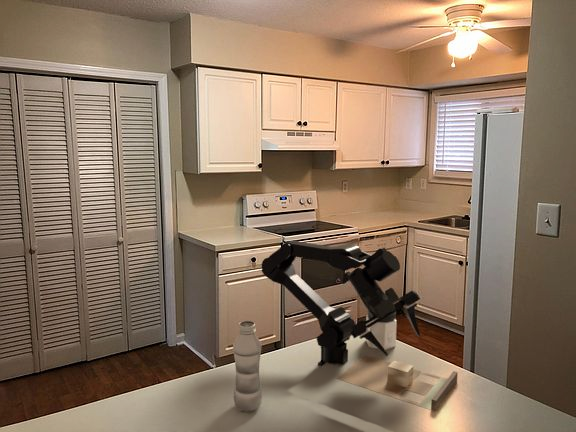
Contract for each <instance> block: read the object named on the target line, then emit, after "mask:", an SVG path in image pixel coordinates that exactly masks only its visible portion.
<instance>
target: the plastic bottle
mask: <svg viewBox="0 0 576 432" xmlns="http://www.w3.org/2000/svg"><path fill="white" fill-rule="evenodd" d="M256 332H257V331H256V322H254V321H252V320H243V321H240V322H239V323H238V333H239V334H238V335H237V337H236V338H235V340H234V341H233V345H232V351H233V356H234V361H235V362H234V364H235V366H234V367H235V384H234V391H233V402H234V405H235V407H236V408H237V409H238V410H239V411H241V412H245V413H247V412H248V413H250V412H254V411H256V410H257V409H259V408H260V407H261V405H262V401H263V393H262V387H261V381H260V380H261V378H260V360H261V352H262V343H261V340H260V339H259V337H258V336H257V335H256Z"/></svg>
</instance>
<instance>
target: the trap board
mask: <svg viewBox="0 0 576 432" xmlns="http://www.w3.org/2000/svg"><path fill="white" fill-rule="evenodd" d="M391 363H392V362H389V361H386V360H383V359H379V358H376V357H372V356H369V355H363V356H362V357H361V358H360V359H359V360H358V361H356V362H355V363H354V364H353V365H351V366H350V367H348V368H347V369H346V370H345V371H344V372H342V373H341V374H340V375H339V376H337V377H336V379H337V380H339V381H342V382H346V383H348V384H352V385H354V386H357V387H360V388H363V389H366V390H369V391H373V392H376V393H378V394H381V395H384V396H388V397H392V398H394V399H397V400H400V401H403V402H406V403H409V404H411V405H414V406H417V407H422V408H423V409H427V410H430V411H433V412H436V411H437V410H438V409H439V408H440V406H441V404H442V403H443V402H444V401H445V399H446V398H447V396H448V395H449V394H450V393H451V391H452V389H453V388H454V387H455V385H457V383H458V373H459V372H457V371H455V370H453V371H452V372H451V373H450V375H449V376H448V378H445V377H442V376H439V375H435V374H431V373H427V372H424V371H422V370H417V369H414V368H413V381H412V382H411V384H410V385H409V386H408V387H407V388H406V387H403V386H400V385H397V384H393V383H390V382H387V376H388V366H389V365H390V364H391ZM419 375H425V376H428V377H432V378H435V379H438V380H437V381H436V382H435V384H431V383H428V382H425V381H421V380H418V379H416V378H418V376H419ZM404 391H409V392H411V393H415V394H418V395H421V396H423V399H422V400H421V401H420V402H418V401H417V402H416V401H413V400H410V399H407V398H404V397H402V396H401V395H402V394H403V392H404ZM400 396H401V397H400Z"/></svg>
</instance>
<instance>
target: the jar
mask: <svg viewBox="0 0 576 432" xmlns="http://www.w3.org/2000/svg"><path fill="white" fill-rule="evenodd" d="M366 310H367V309H366ZM366 312H367V315H366V317H365V319H366V320H365V321H367V320H368V319H370V318H372V316H371V315H370V313H369V312H368V310H367V311H366ZM396 317H397V311H396V312H394V313H392V314H391V315H389V316H387V317H386V318H384V319H382V320H381V321H379V322H377V323H376V324H374V325H372V326H371V327H369V328H368V331H371V332H372V333H373V335H374V336H375V338H376V339H377V340H378V342H379V343H380V344H381V345H382V347H383V348H384V349H385V351H386V350H389V349H392V348H394V347H396V346H397V319H396ZM376 318H377V316H376ZM378 319H379V318H378ZM365 343H366V345H367V346H368V348H372V349H378V348H377V347H376V346H375V345H374V344H373V343H371V342H370V341H368V340H367V339H365ZM378 350H379V349H378Z"/></svg>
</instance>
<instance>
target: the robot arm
mask: <svg viewBox="0 0 576 432" xmlns="http://www.w3.org/2000/svg"><path fill="white" fill-rule="evenodd" d="M297 258H300V259H306V260H312V261H317V262H322V263H326V264H327V265H329V266H330V267H331V268H334V269H336V270H339V271H343V272H344V273H343V278H342V282H341V283H342V284H343V285H345V284H347V283H349V282H350V283H351V286H352V288H353V289H354V290H355V292H356V294H357V295H358V297H359V298H360V301H362V304H363V305H364V307H365V309H366V310H368V312H369V313H370V315H371V316H372V318H370V319H368V320H367V321H366V320H365V321H364V320H361V321H359V322H357V323H356V322H355V320H354V319H353V318H352V317H353V315H352V314H350V313H348V312H347V311H346V309H345V308H344V307H343V306H338V307H336V308H334V307H331V306H330V304H329V303H327V302H326V301H325V300H324V299H323V298H322V297H321V296H320V295H319V294H318V293H317V292H316V291H315V290H313V288H311V286H310V285H308V284H307V283H306V281H305V280H303V279H302V278H301V277H300V276H299V275H298V274H297V272H296V270H295V266H294V264H293V262H295V260H296V259H297ZM362 266H364V267H362ZM351 269H353V270H352V271H348V270H351ZM400 269H401V264H400V261H399V259H398V258H397V256H396V255H394V254H393V253H392V252H390V251H389V250H387V249H386V247H384V246H382V247H380V248H378V249H377V250H375V252H374V253H373V254H371V253H368V252H365V251H363V250H361V249H360V246H358V245H356V244H346V245H345V244H344V245H343V244H342V245H334V246H329V245H322V244H316V243H311V242H303V241H299V240H295V239H294V240H293V239H292V240H289V241H286V242H284V243H283V244H282V245H281V246H280V247H279V248H278V249H277V250H275V251H274V252H272V253H271V254H270V255H269V256H268V257H266V258H264V259H262V262H261V272H262V274H263V276H265V277H266V278H267V279H269V280H271V282H274V283H276V284H279V285H281V286H283V287H285V288H286V290H287V291H289V292H290V293H291V294H292V295H293V296H294V297H295V298H296V299H297V301H298V302H300V303H301V305H303V306H304V307H305V308H306V309H307V310H308V311H309V312H310V313H311V314H312V316H314V317H315V319H317V321H318V324H319V328H320V330H321V332H322V333H319V335H318V336H316V338H315V339H316V342H317V346H318V347H319V346H320V361H318V362H317V365H318V366H320V367H322V366H324V365H325V364H327V363H328V364H331V365H344V364H346V363H348V362H349V361H348V360H349V349H347V347H348V346H347V344H348V343H347V341H349V340H350V339H351V336H352V338H353V339H356V338H358V337H359V340H361V339H365V340H366V339H367V340H368V341H370V342H371V343H373V344H374V345H375V346H376V347H377V348H378V350H379V351H380V352H381V353H383V354H384V355H385V356H387V357H388V356H389V355H388V353H387V351H386V350H385V349H384V348H383V347H382V345H381V344H380V343H379V342H378V340H377V339H376V338H375V336H374V335H373V333H372V332H371V331H368V328H369V327H371V326H372V325H374V324H376V323H377V322H379V321H381V320H382V319H384V318H386V317H387V316H389V315H391V314H392V313H394V312H396V313H397V311H398V310H399V311H400V309H402V308H404V309H403V312H404V315H405V316H406V318H407V320H408V322H409V324H410V326H411V328H412V329H413V331H414V332H415V334H416V335H417V337H420V336H421V333H420V331H419V326H418V322H417V319H416V318H417V317H416V313H415V312H416V311H415V309H416V307H417V306H418V303H417V302H418V301H419V300H421V298H420V296H419V295H418V293H417V292H416V291H415V290H410V291H408V292H407V293H406V294H404V295H402V296H400V297H399V296H398V294H397V293H396V291H395V289H394V288H393V287H390V288H388V289H386V290H385V291H383V289H382V288H381V286H380V285H379V283H378V282H381V283H382V282H383V281H385V280H387V278H390V277H391V276H393V275H394V274H395V273H397V272H398V271H400ZM345 271H346V272H345ZM376 316H377V318H376ZM378 318H379V319H378ZM377 348H376V349H377Z"/></svg>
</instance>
